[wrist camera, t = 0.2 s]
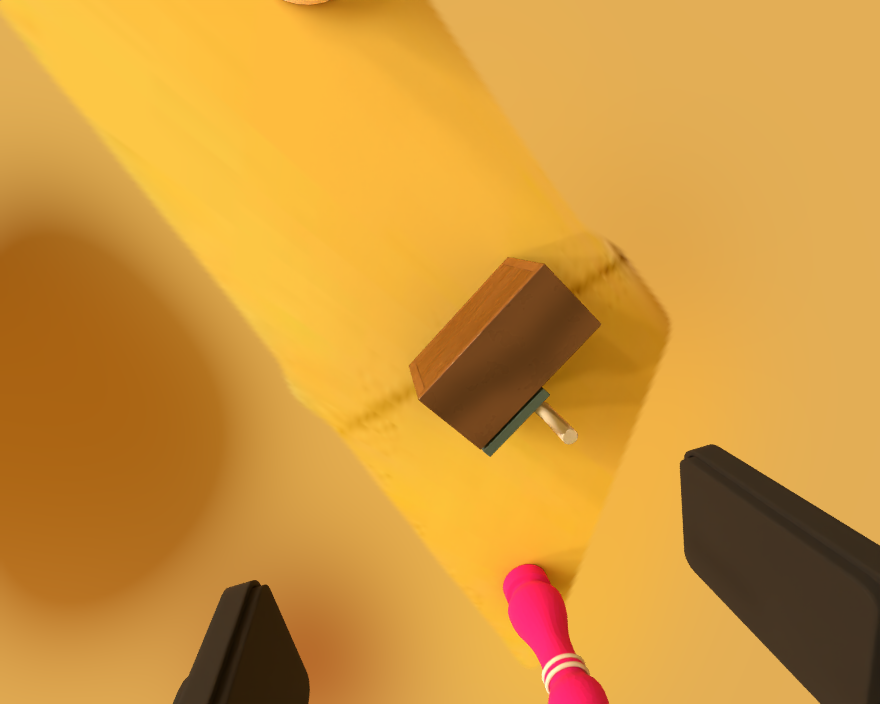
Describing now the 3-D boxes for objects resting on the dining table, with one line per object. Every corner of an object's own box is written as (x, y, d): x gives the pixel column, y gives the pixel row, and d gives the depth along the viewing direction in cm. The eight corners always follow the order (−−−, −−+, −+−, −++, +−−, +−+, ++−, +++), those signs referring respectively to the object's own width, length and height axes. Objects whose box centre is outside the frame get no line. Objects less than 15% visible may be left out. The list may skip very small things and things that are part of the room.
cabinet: (408, 365, 47) (418, 400, 37) (507, 256, 45) (544, 263, 36) (459, 407, 49) (481, 450, 40) (555, 305, 48) (601, 324, 38)
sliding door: (462, 410, 49) (482, 451, 40) (510, 358, 48) (543, 388, 39) (501, 443, 51) (530, 489, 42) (549, 394, 50) (588, 430, 41)
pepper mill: (559, 570, 58) (650, 734, 39) (531, 609, 59) (607, 787, 40) (516, 553, 56) (591, 717, 37) (489, 594, 57) (548, 774, 38)
